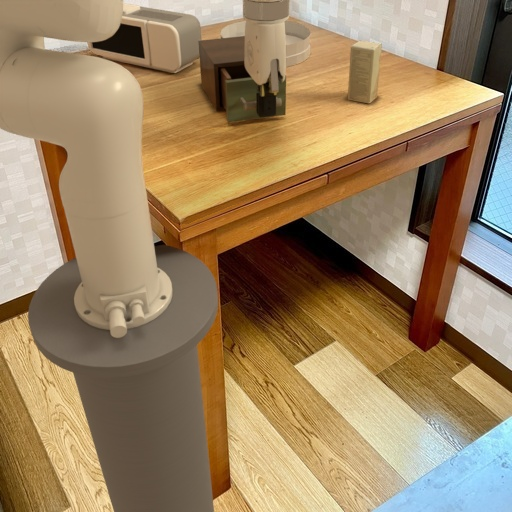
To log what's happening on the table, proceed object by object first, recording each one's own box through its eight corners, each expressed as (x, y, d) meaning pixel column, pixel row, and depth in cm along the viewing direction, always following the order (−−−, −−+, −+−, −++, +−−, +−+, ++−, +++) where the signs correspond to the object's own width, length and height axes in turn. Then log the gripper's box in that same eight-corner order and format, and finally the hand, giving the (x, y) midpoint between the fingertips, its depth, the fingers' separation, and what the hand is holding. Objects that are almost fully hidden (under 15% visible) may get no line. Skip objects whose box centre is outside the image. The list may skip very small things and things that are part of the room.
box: (377, 97, 124) (384, 43, 117) (369, 104, 121) (375, 49, 114) (354, 92, 126) (359, 39, 119) (345, 99, 123) (350, 45, 116)
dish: (214, 41, 153) (213, 21, 150) (297, 35, 157) (298, 16, 154) (227, 72, 136) (227, 50, 133) (321, 64, 139) (322, 43, 136)
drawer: (292, 124, 112) (293, 83, 107) (233, 132, 110) (232, 91, 105) (265, 89, 126) (265, 52, 121) (212, 95, 123) (210, 58, 118)
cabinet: (276, 103, 122) (276, 56, 116) (216, 111, 119) (213, 63, 113) (256, 78, 133) (256, 34, 127) (201, 85, 130) (198, 40, 124)
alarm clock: (89, 58, 145) (80, 6, 138) (115, 46, 151) (107, -3, 144) (180, 77, 134) (175, 23, 127) (203, 64, 140) (200, 12, 133)
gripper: (232, -2, 101) (235, 101, 113) (256, 23, 90) (257, 135, 101) (274, -6, 103) (273, 96, 114) (303, 19, 91) (299, 129, 103)
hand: (266, 114), depth 108 cm, fingers closed
